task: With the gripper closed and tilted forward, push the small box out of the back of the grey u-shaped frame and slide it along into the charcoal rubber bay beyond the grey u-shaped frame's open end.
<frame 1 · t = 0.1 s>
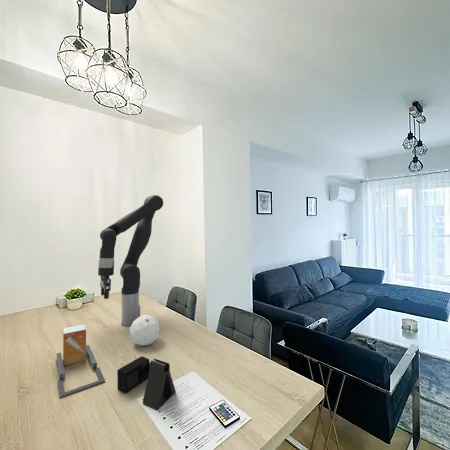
hand: (104, 296, 133), 17 cm above the table, tool pointing down, fingers open, 8 cm apart
small box: (74, 360, 104), on the table
phone stand: (159, 398, 81), on the table
geodesic sphere: (144, 344, 118), on the table
digital camera: (135, 384, 88), on the table
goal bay: (81, 381, 90), on the table
grey u-shaped frame: (76, 364, 101), on the table
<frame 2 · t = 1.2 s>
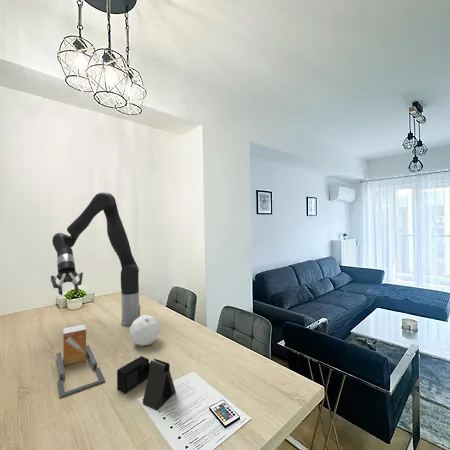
hand: (68, 293, 120), 23 cm above the table, tool tilted 45°, fingers open, 5 cm apart
nothing on the table moved.
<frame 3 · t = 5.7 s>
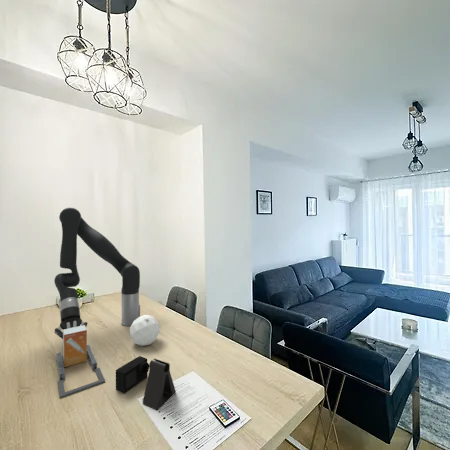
hand: (73, 347, 106), 4 cm above the table, tool tilted 45°, fingers closed
small box: (75, 361, 103), on the table, touching gripper
everything else where it was.
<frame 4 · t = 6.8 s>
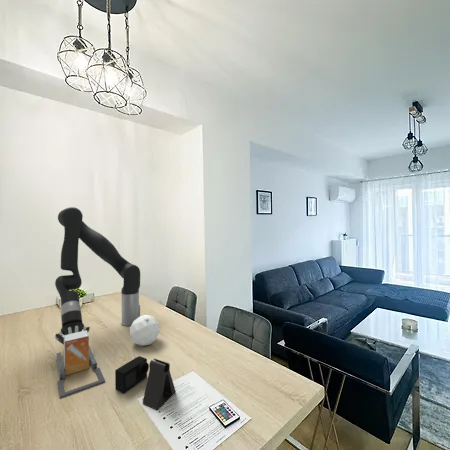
hand: (74, 353, 101), 4 cm above the table, tool tilted 45°, fingers closed
small box: (76, 368, 98), on the table, touching gripper
everything else where it was.
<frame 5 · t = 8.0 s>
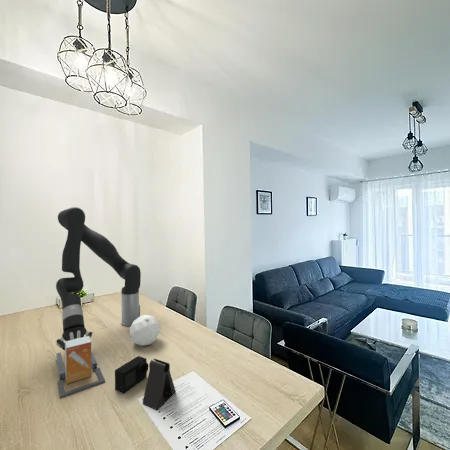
hand: (76, 360, 96), 4 cm above the table, tool tilted 45°, fingers closed
small box: (78, 376, 93), on the table
everything else where it was.
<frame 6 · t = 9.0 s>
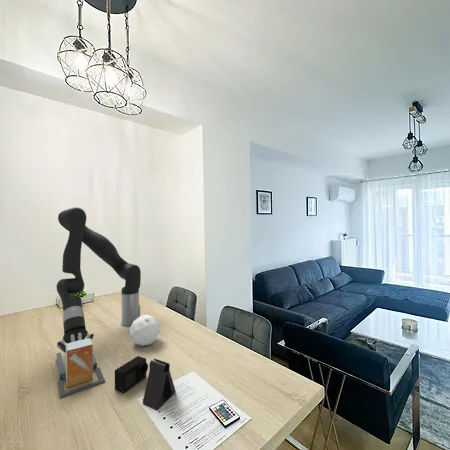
hand: (78, 363, 94), 4 cm above the table, tool tilted 45°, fingers closed
small box: (79, 379, 91), on the table, touching gripper
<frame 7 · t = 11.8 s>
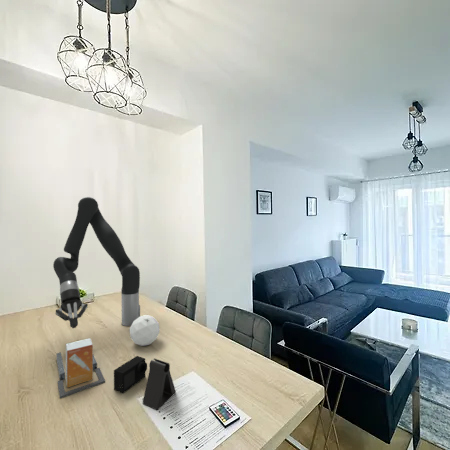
hand: (74, 327, 108), 12 cm above the table, tool tilted 45°, fingers closed
small box: (79, 380, 91), on the table
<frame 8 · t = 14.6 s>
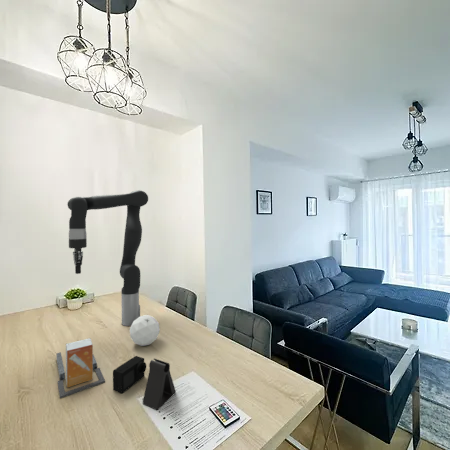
hand: (78, 273, 123), 32 cm above the table, tool pointing down, fingers closed
at the end: small box inside the target area (1.0 cm from its centre), on the table; small box tilted 0°; small box moved 16.0 cm from its start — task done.
